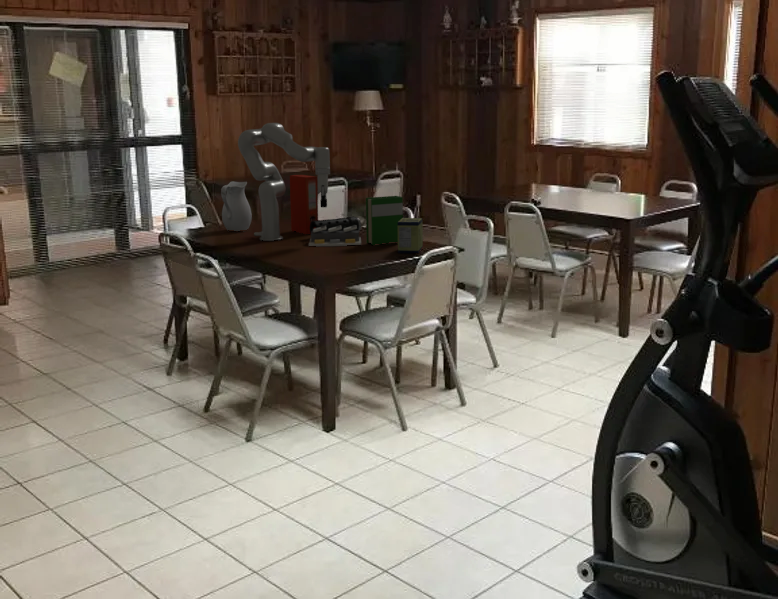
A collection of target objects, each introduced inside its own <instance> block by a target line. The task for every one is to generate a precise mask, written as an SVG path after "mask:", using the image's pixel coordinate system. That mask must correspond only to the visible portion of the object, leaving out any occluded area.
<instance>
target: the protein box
mask: <svg viewBox="0 0 778 599" xmlns="http://www.w3.org/2000/svg"><path fill="white" fill-rule="evenodd" d="M423 231H424V230H423V218H422V217H403V218H402V219H401V220H400V221H398V243H397V254H412V253H418V254H419V253H420V252H421V251H422V250H421V248H422V247H423V242H424V241H423V239H424V238H423V234H424V233H423ZM423 248H424V247H423ZM420 250H421V251H420ZM419 251H420V252H419Z"/></svg>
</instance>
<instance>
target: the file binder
mask: <svg viewBox="0 0 778 599" xmlns="http://www.w3.org/2000/svg"><path fill="white" fill-rule="evenodd" d="M289 189H290V190H289V192H290V193H289V197H290V201H289V202H290V226H291V230H292V231H291V230H290V231H291V232H294V231H296V232H295V233H298V232H299V233H298V234H302V233H303V234H302V235H306V234H310V235H311V233H310V223H311V222H312V221H319V204H318V203H319V202H318V200H319V196H318V195H319V194H318V176H313V175H306V174H292V175H289ZM315 228H316V227H314V229H315Z"/></svg>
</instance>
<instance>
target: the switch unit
mask: <svg viewBox="0 0 778 599" xmlns="http://www.w3.org/2000/svg"><path fill="white" fill-rule="evenodd" d="M347 245H361V246H362V238H361V236H360V231H359V230H358V231H352V230H351V231H347V232H344V231H337V230H336V231H333V232H329V231H318V232H315V233H314V232H313V231H312V232H311V234H310V239H309V242H308V247H309V246H316V247H348V246H347Z"/></svg>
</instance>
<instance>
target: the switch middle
mask: <svg viewBox="0 0 778 599" xmlns="http://www.w3.org/2000/svg"><path fill="white" fill-rule="evenodd" d="M340 229H342V227H341V225H340V226H336V227H333V228H329V229H328V231H329V232H333V231H336V230H340Z"/></svg>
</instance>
